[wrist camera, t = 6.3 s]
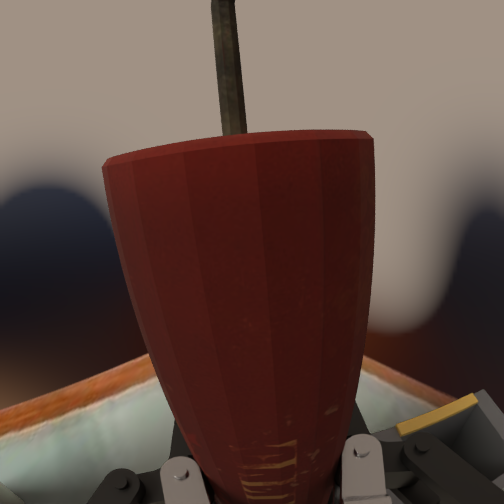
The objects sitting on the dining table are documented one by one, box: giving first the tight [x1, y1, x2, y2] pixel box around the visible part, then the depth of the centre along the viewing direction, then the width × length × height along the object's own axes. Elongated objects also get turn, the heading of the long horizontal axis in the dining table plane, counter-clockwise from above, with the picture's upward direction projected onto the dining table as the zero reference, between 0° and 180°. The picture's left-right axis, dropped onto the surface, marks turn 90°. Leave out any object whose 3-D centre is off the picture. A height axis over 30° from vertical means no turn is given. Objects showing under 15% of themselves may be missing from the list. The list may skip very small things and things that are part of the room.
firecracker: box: [102, 0, 375, 504], centre depth 9 cm, size 5×5×30 cm
